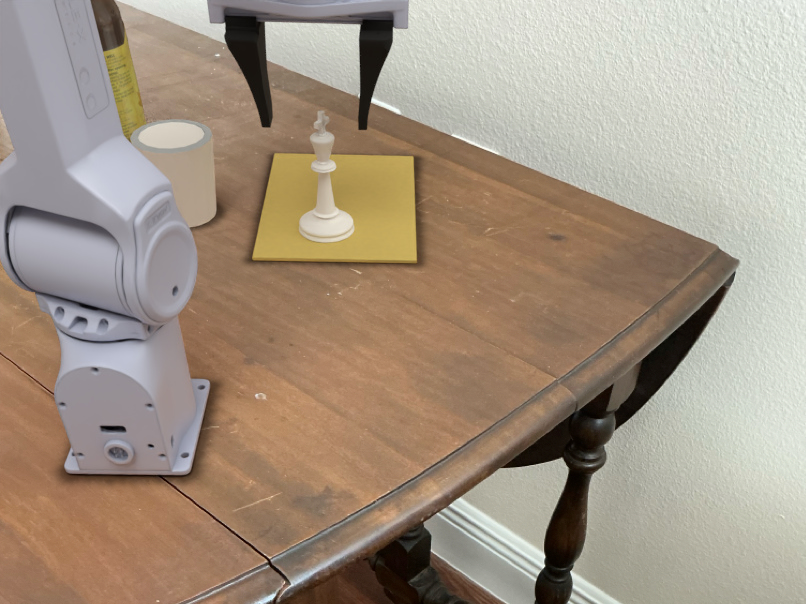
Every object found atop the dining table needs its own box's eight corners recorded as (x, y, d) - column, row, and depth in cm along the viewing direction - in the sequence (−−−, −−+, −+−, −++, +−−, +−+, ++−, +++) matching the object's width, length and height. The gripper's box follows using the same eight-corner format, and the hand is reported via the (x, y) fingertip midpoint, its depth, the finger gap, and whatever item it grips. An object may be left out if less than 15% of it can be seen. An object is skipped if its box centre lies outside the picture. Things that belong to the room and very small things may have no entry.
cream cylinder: (207, 235, 74) (194, 156, 69) (134, 226, 75) (116, 146, 70) (233, 199, 79) (223, 122, 73) (164, 191, 79) (149, 113, 74)
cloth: (416, 263, 72) (416, 260, 72) (252, 260, 72) (252, 257, 71) (413, 158, 85) (413, 155, 85) (274, 155, 85) (274, 152, 85)
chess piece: (288, 234, 74) (277, 115, 67) (317, 210, 77) (311, 94, 70) (336, 248, 73) (331, 129, 65) (364, 223, 76) (363, 107, 68)
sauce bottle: (166, 155, 84) (120, -87, 69) (128, 181, 80) (72, -70, 66) (112, 142, 86) (57, -97, 71) (73, 168, 82) (6, -80, 67)
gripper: (410, -93, 60) (405, 106, 71) (207, -99, 60) (231, 101, 70) (411, -67, 56) (405, 142, 66) (191, -74, 55) (219, 137, 66)
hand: (315, 123), depth 68 cm, fingers open, 7 cm apart
